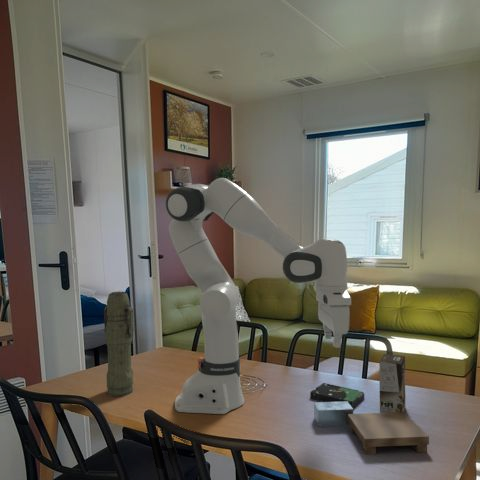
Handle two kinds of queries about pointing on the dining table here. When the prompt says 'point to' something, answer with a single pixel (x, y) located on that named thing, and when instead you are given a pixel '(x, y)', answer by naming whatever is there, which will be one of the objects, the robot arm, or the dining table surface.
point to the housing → (332, 413)
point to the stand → (387, 431)
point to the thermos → (119, 344)
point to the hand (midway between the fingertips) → (332, 342)
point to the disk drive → (337, 394)
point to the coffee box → (392, 383)
